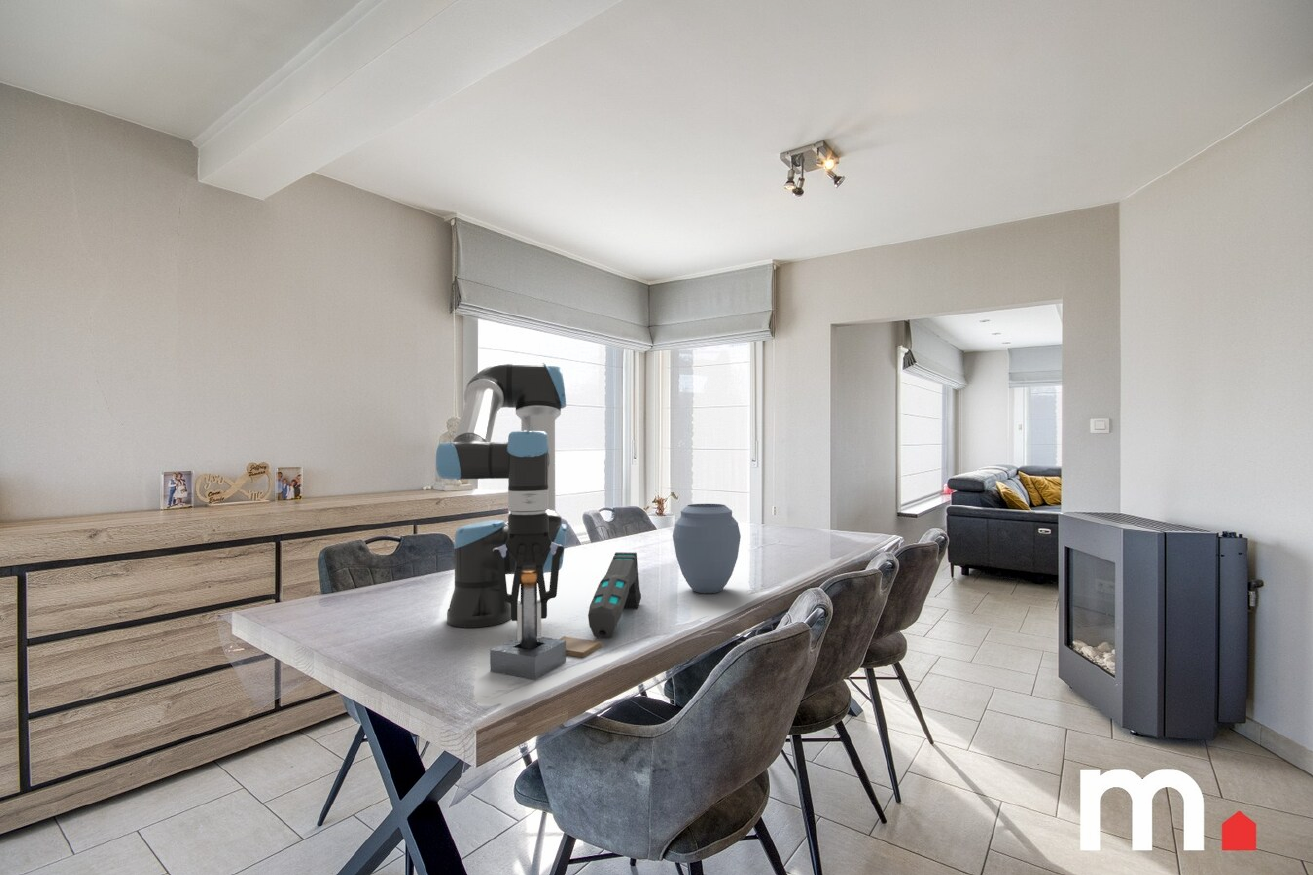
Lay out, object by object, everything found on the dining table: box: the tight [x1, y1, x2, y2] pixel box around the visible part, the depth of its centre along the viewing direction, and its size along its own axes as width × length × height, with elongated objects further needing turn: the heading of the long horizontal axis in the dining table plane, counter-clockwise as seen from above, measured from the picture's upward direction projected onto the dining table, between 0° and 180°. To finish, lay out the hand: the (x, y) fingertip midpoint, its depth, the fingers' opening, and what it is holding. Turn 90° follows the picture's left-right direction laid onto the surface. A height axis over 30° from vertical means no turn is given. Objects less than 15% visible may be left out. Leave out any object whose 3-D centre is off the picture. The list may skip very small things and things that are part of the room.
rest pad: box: [559, 635, 602, 658], centre depth 122 cm, size 9×7×1 cm
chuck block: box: [489, 636, 567, 681], centre depth 112 cm, size 10×10×4 cm
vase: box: [672, 503, 742, 595], centre depth 171 cm, size 20×20×24 cm
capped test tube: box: [520, 570, 538, 650], centre depth 112 cm, size 4×4×15 cm
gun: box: [587, 551, 642, 639], centre depth 142 cm, size 7×29×15 cm, turn 171°
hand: (529, 636), depth 112 cm, fingers closed on capped test tube, 3 cm apart
